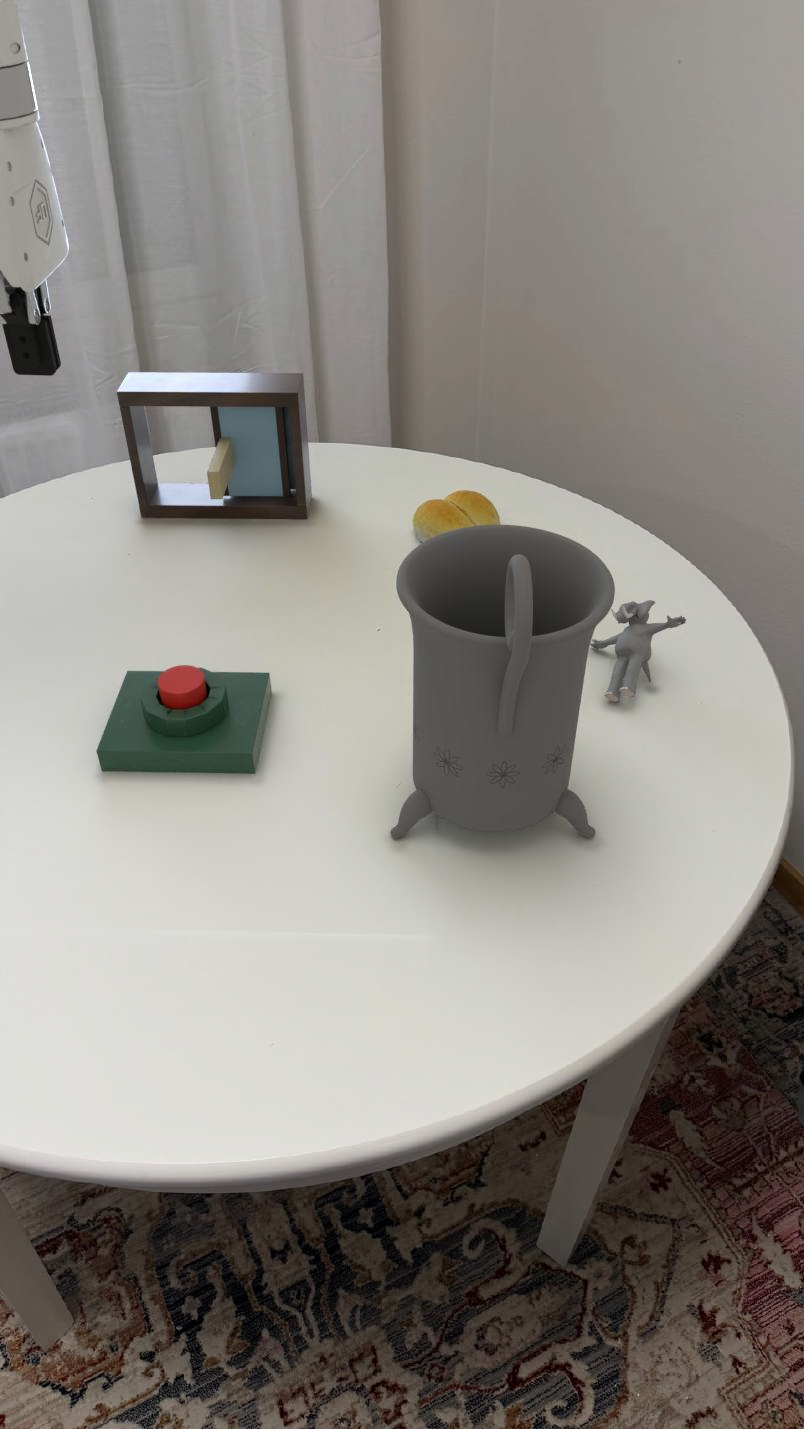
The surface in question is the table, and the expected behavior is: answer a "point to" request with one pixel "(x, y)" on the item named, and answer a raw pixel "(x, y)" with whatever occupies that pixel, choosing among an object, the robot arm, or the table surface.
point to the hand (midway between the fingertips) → (38, 370)
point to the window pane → (249, 452)
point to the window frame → (215, 393)
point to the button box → (187, 726)
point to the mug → (499, 673)
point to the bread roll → (453, 514)
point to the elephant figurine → (632, 646)
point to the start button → (182, 687)
